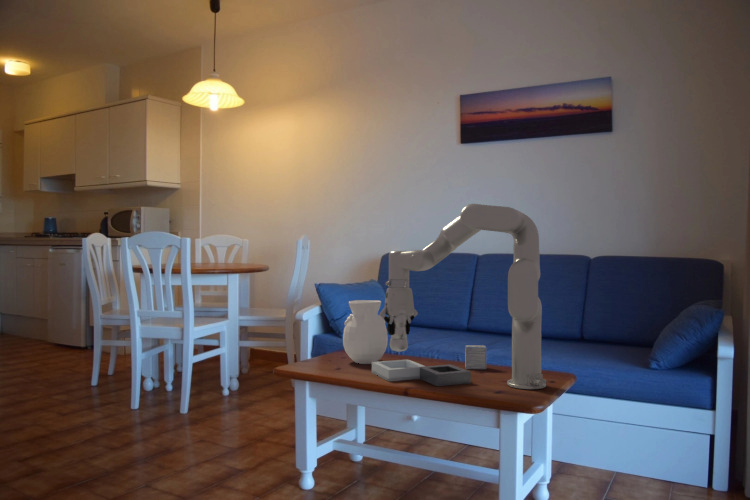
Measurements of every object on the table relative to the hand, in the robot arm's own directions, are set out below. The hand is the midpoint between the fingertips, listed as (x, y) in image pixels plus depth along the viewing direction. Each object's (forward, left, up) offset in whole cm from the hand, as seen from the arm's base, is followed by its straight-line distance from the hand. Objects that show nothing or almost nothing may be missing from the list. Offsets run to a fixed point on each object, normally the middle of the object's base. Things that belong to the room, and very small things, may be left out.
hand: (398, 333), depth 211 cm
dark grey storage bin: (-14, -11, -15) cm, 23 cm away
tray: (0, 0, -15) cm, 15 cm away
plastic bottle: (0, 0, -7) cm, 7 cm away
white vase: (+29, +2, -15) cm, 33 cm away
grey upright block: (+1, -33, -15) cm, 36 cm away
